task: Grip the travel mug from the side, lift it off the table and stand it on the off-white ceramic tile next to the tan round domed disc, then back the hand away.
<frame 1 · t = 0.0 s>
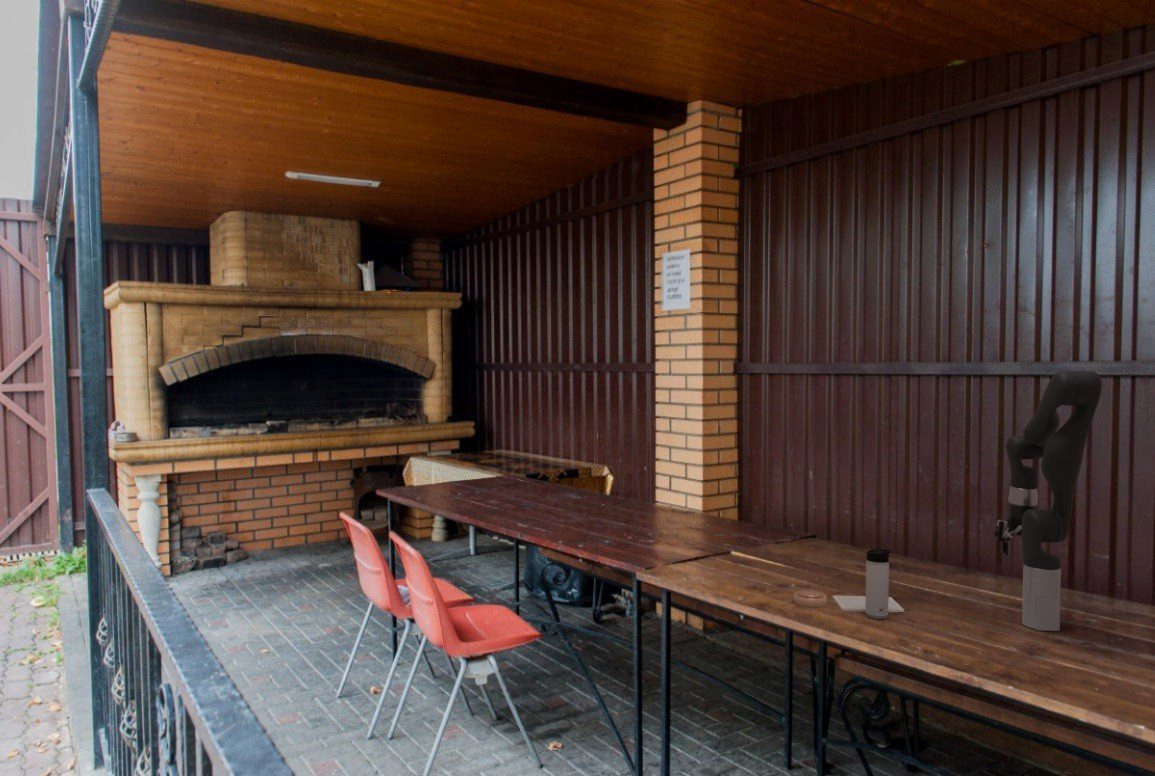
hand: (1020, 554, 241), 17 cm above the table, tool pointing down, fingers open, 8 cm apart
travel mug: (877, 617, 237), on the table
tile: (867, 605, 248), on the table
tan round domed disc: (810, 602, 250), on the table
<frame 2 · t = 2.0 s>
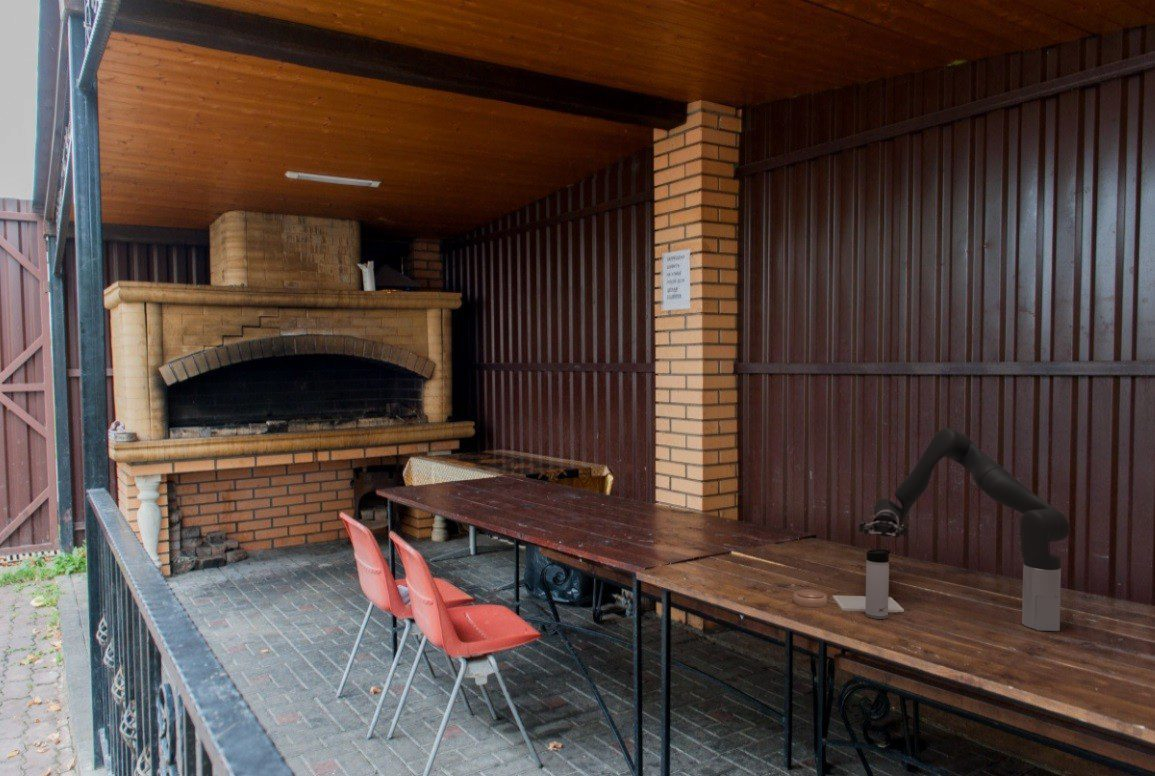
hand: (881, 533, 246), 22 cm above the table, tool horizontal, fingers open, 8 cm apart
nothing on the table moved.
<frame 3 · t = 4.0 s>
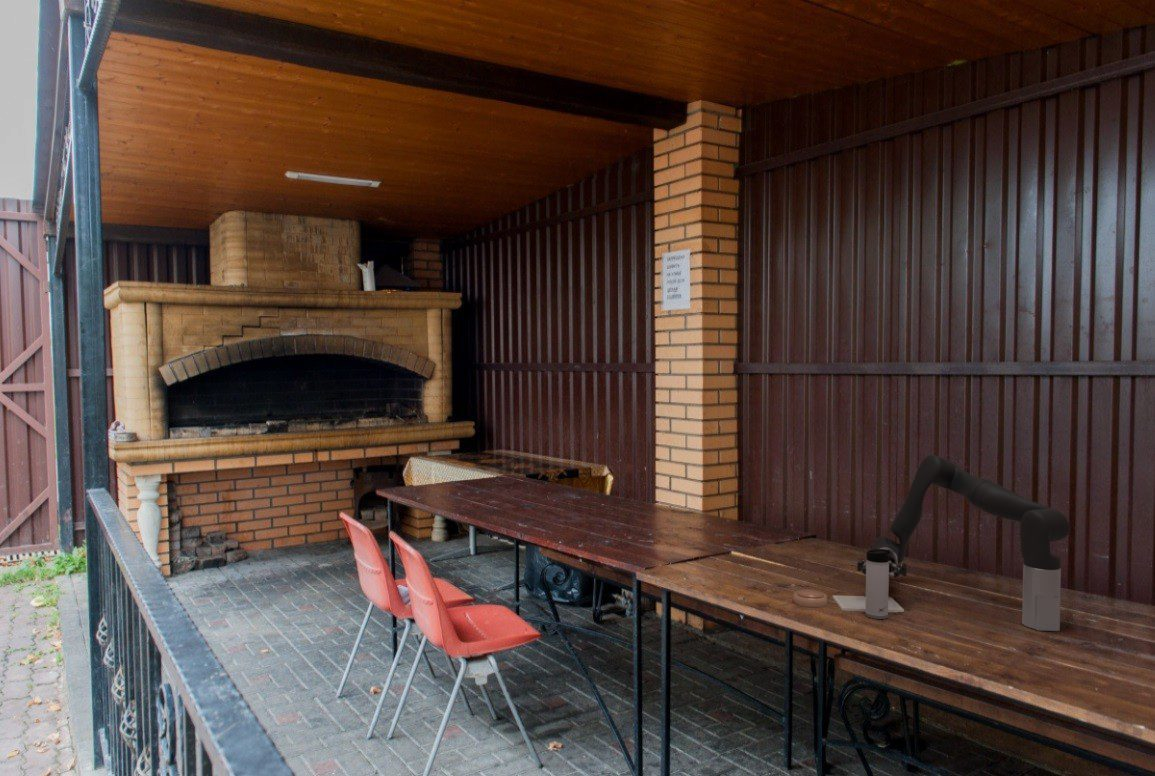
hand: (880, 573, 243), 11 cm above the table, tool horizontal, fingers open, 8 cm apart
nothing on the table moved.
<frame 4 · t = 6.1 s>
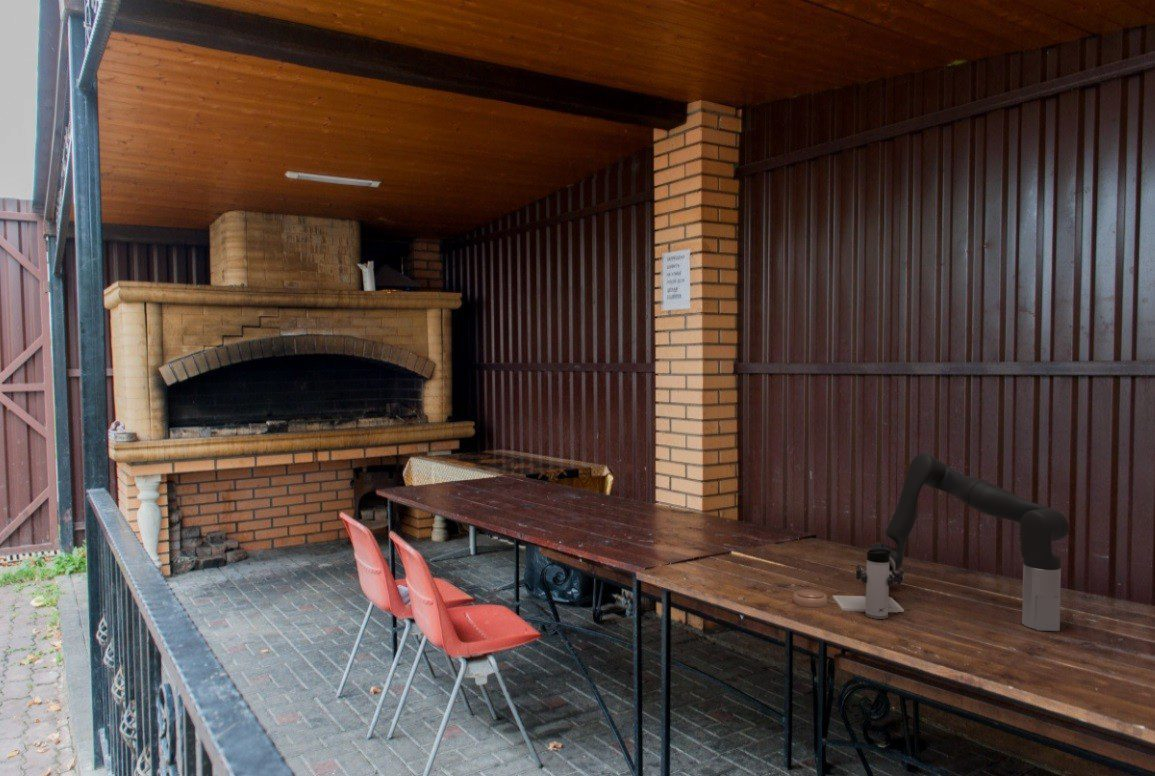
hand: (876, 581, 234), 11 cm above the table, tool horizontal, fingers closed on travel mug, 6 cm apart
travel mug: (877, 617, 237), on the table, touching gripper
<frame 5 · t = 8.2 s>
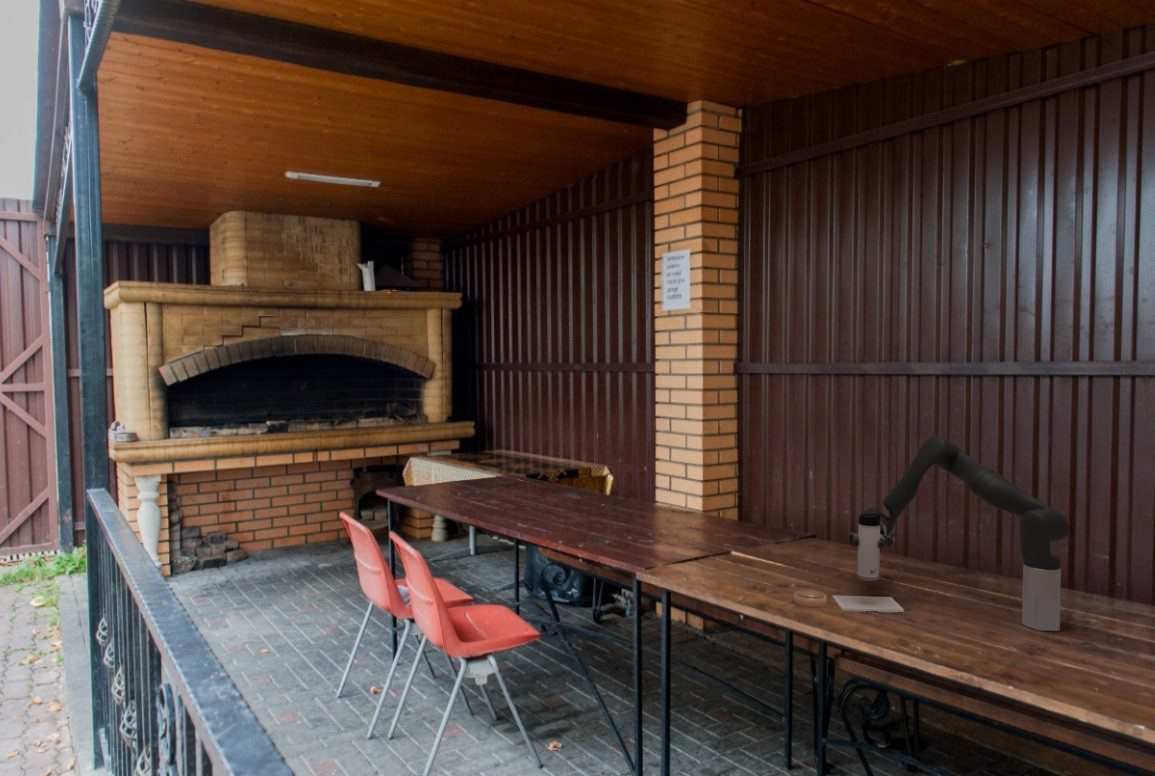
hand: (868, 544, 243), 20 cm above the table, tool horizontal, fingers closed on travel mug, 6 cm apart
travel mug: (868, 578, 246), point 9 cm above the table, touching gripper
when the fingers open (13 cm above the table, at t = 10.3 s): travel mug stays where it is, resting on tile.
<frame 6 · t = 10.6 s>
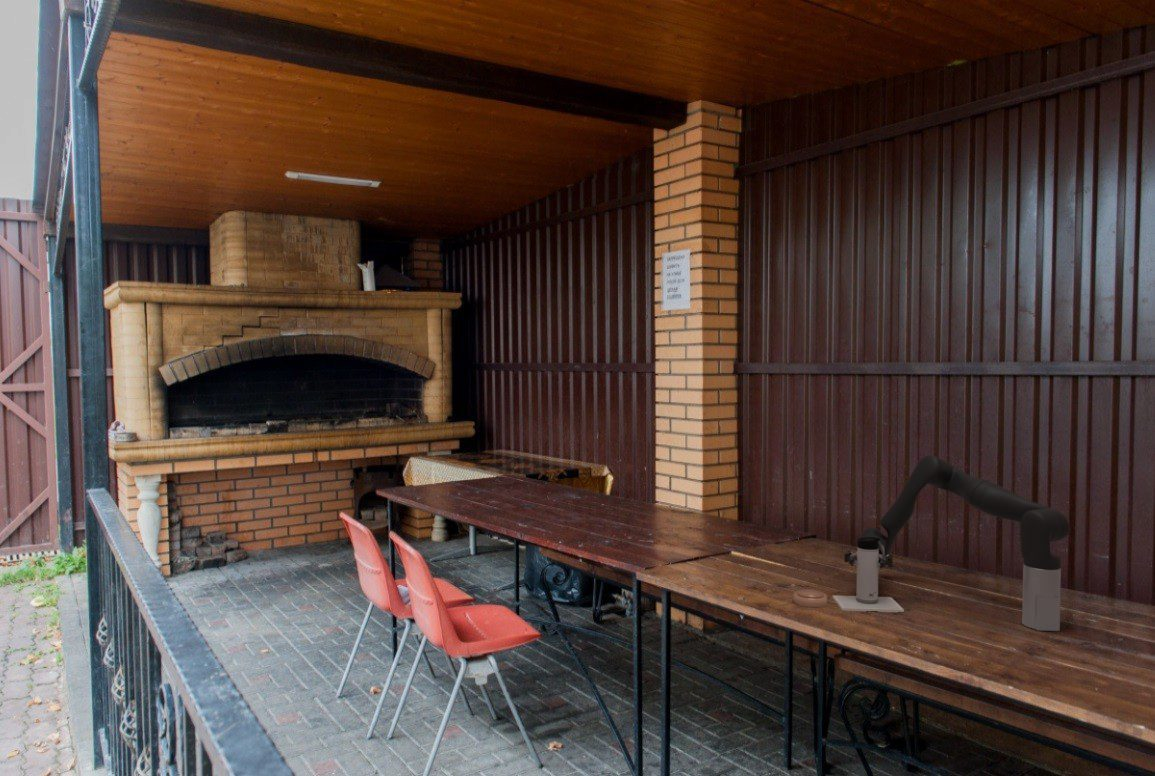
hand: (866, 563, 246), 13 cm above the table, tool horizontal, fingers open, 8 cm apart
travel mug: (867, 601, 249), point 1 cm above the table, touching tile
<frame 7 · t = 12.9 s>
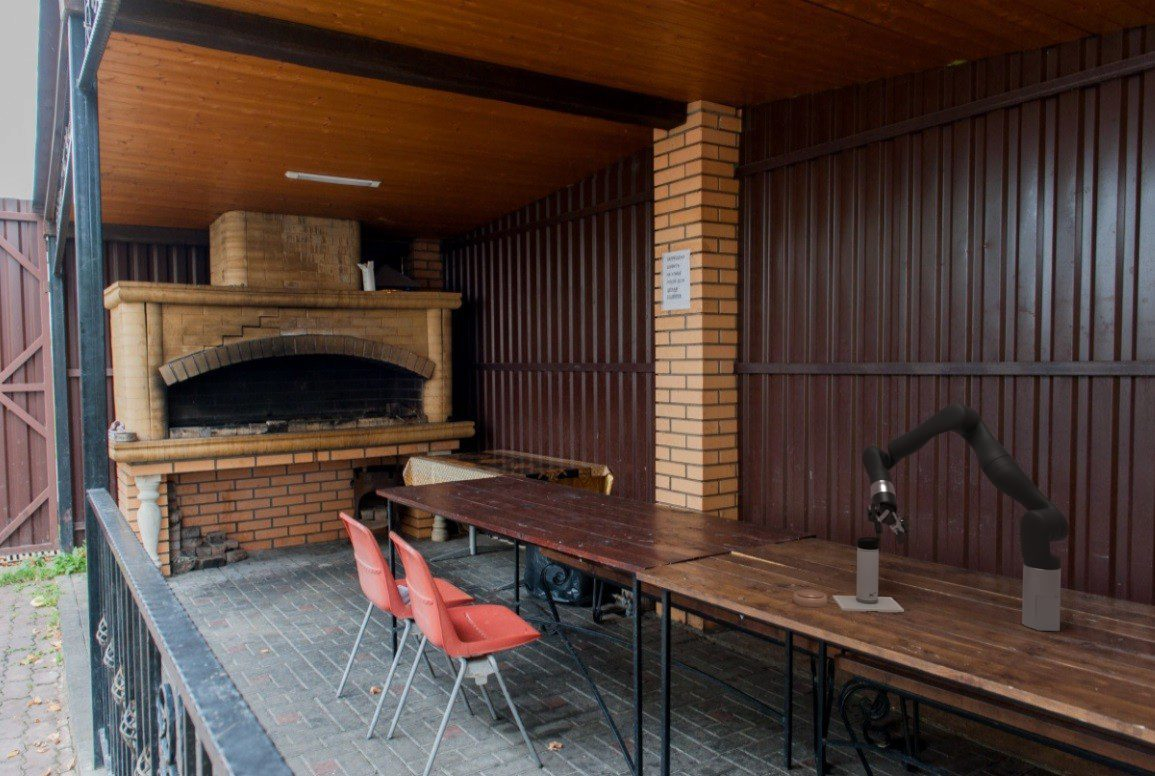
hand: (890, 538, 254), 19 cm above the table, tool tilted 45°, fingers open, 8 cm apart
nothing on the table moved.
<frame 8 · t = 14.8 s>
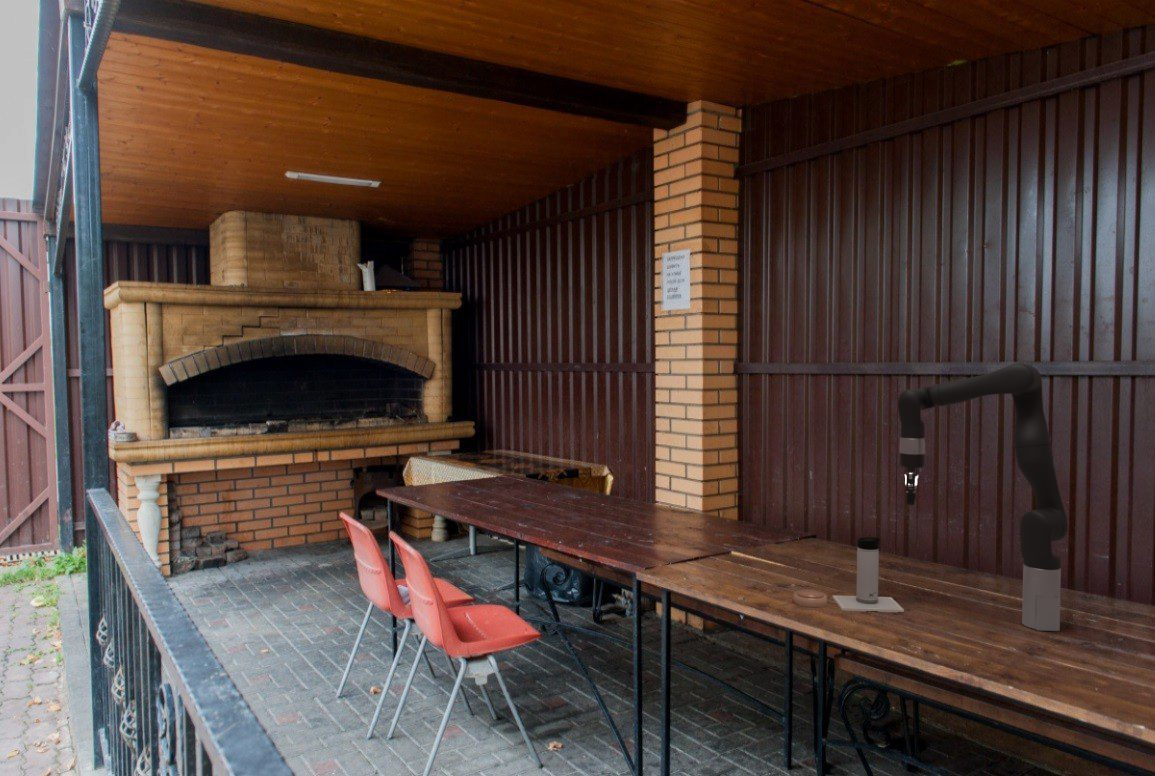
hand: (911, 502, 256), 30 cm above the table, tool pointing down, fingers open, 8 cm apart
nothing on the table moved.
at the end: travel mug inside the target area on the tile (1.1 cm from its centre), point 0.7 cm above the tile's base; travel mug tilted 0°; the gripper is holding nothing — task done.
